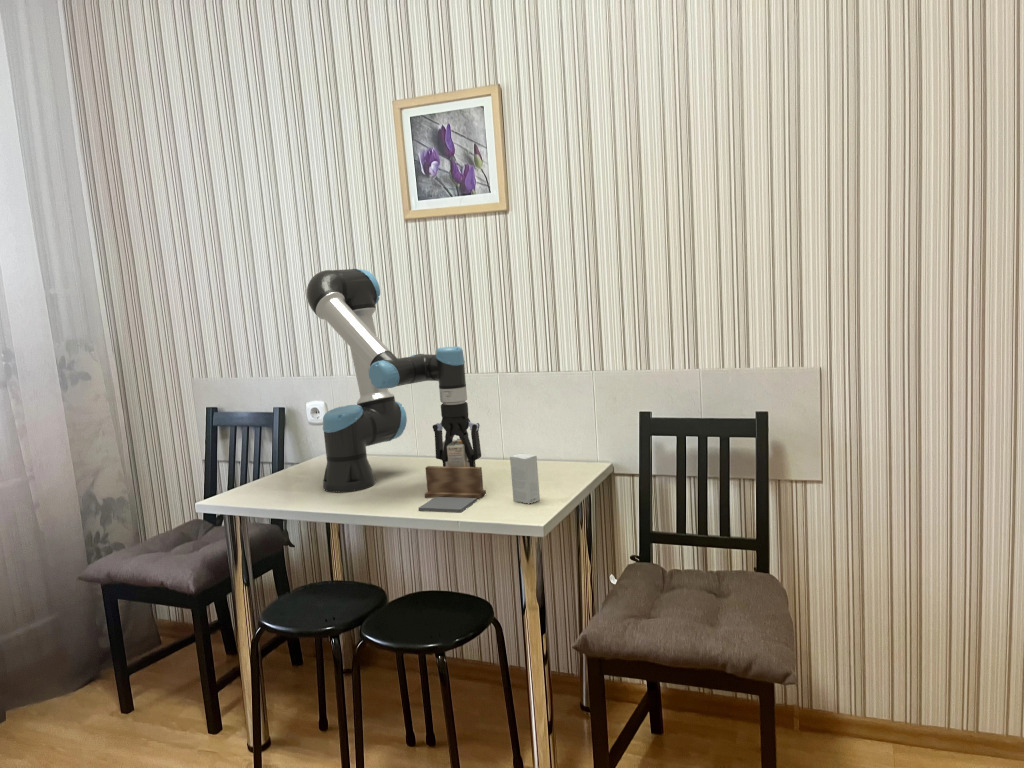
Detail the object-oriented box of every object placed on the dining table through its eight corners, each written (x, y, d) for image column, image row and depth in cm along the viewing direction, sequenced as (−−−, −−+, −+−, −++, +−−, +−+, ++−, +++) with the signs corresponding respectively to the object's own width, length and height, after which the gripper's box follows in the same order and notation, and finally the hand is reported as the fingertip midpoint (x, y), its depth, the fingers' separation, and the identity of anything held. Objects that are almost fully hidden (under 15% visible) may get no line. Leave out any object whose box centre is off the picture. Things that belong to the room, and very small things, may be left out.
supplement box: (455, 484, 221) (451, 439, 219) (471, 483, 220) (468, 439, 218) (449, 492, 213) (446, 446, 211) (466, 491, 212) (463, 445, 210)
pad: (418, 510, 197) (418, 507, 197) (435, 499, 206) (435, 496, 206) (461, 512, 192) (460, 509, 192) (476, 501, 202) (476, 498, 202)
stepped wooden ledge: (425, 497, 209) (422, 469, 208) (433, 492, 213) (430, 464, 212) (479, 499, 203) (476, 470, 202) (486, 494, 208) (483, 465, 207)
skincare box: (540, 500, 198) (537, 455, 196) (529, 504, 195) (525, 458, 193) (524, 497, 202) (520, 452, 201) (512, 501, 199) (509, 456, 198)
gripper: (417, 405, 213) (425, 486, 216) (479, 404, 206) (486, 487, 209) (429, 400, 220) (436, 479, 223) (489, 399, 213) (496, 480, 216)
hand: (460, 483), depth 216 cm, fingers closed on supplement box, 6 cm apart
